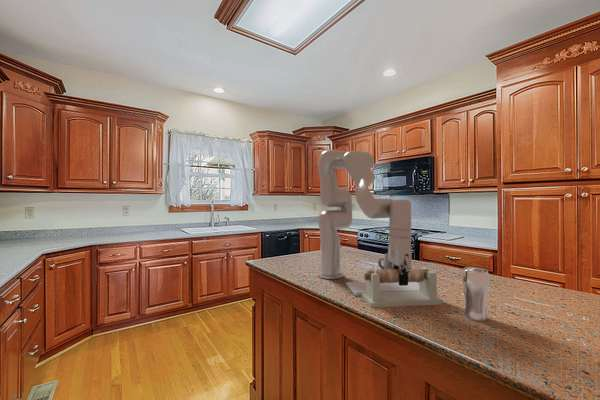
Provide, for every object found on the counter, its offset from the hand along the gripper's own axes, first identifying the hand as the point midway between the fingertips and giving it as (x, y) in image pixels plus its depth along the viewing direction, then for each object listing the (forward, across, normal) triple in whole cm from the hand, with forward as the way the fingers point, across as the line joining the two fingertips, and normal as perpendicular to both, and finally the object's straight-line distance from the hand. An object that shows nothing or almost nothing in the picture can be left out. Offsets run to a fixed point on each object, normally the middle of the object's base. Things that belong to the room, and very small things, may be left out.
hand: (399, 282), depth 101 cm
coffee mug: (+7, -32, +11) cm, 34 cm away
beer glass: (+7, +16, +17) cm, 24 cm away
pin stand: (+7, 0, 0) cm, 7 cm away
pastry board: (+7, -13, 0) cm, 14 cm away
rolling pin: (0, -1, 0) cm, 1 cm away
